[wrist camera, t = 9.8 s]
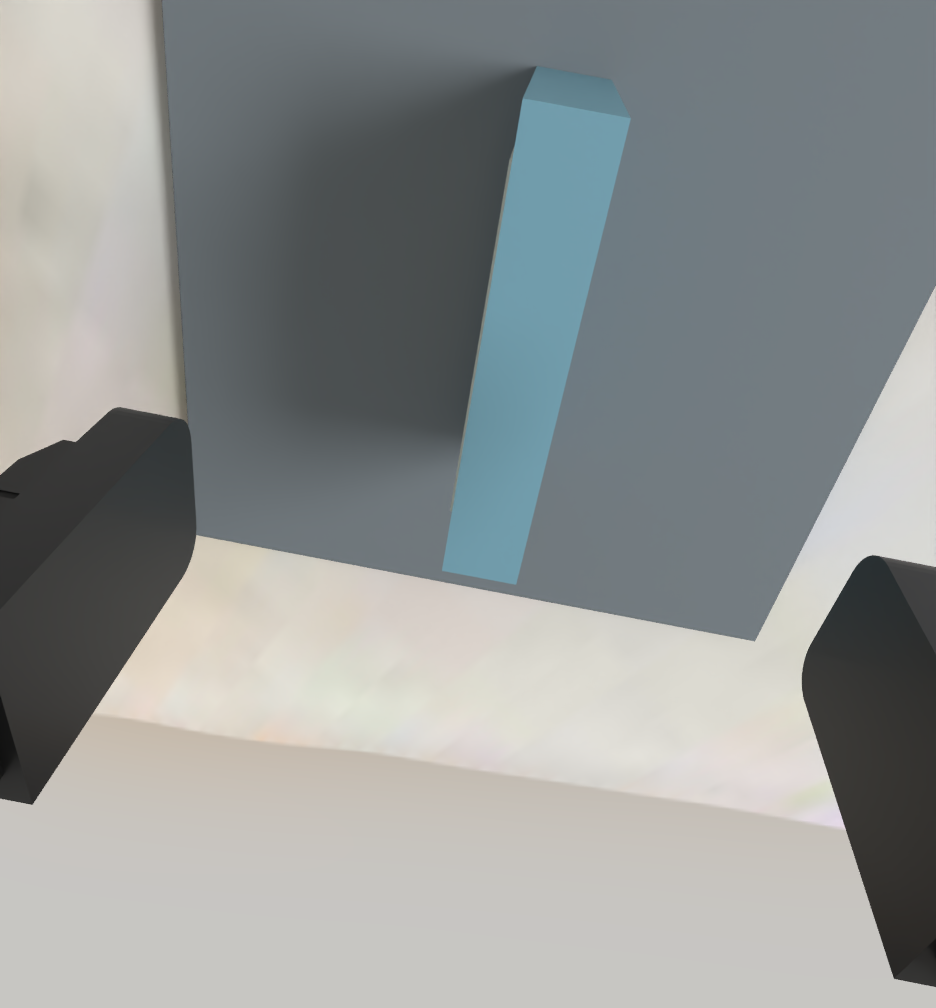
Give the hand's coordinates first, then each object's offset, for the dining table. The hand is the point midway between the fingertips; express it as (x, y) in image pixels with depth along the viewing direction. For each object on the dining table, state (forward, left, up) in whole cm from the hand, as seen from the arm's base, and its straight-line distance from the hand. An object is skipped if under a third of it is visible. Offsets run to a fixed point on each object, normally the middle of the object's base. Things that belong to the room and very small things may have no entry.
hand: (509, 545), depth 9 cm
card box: (0, 0, -11) cm, 11 cm away
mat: (0, 0, -12) cm, 12 cm away
